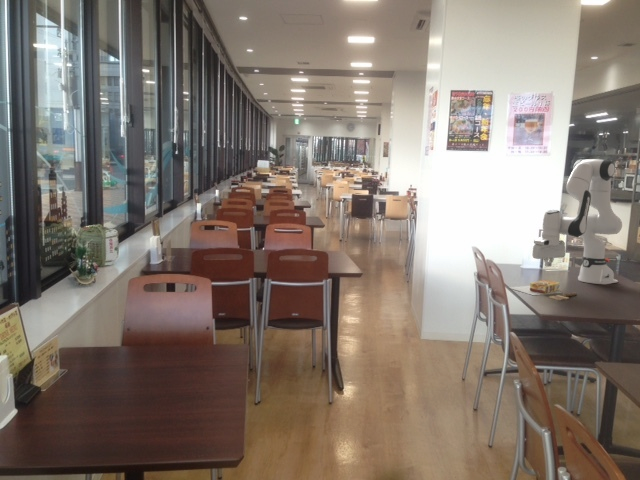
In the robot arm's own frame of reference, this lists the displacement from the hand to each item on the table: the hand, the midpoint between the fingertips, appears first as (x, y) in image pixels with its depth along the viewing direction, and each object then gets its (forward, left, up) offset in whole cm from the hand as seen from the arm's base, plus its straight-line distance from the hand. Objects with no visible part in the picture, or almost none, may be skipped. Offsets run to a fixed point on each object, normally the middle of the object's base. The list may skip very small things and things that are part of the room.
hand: (548, 266), depth 314 cm
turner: (+5, +17, -13) cm, 22 cm away
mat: (+8, 0, -13) cm, 15 cm away
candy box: (-4, +1, -10) cm, 11 cm away
